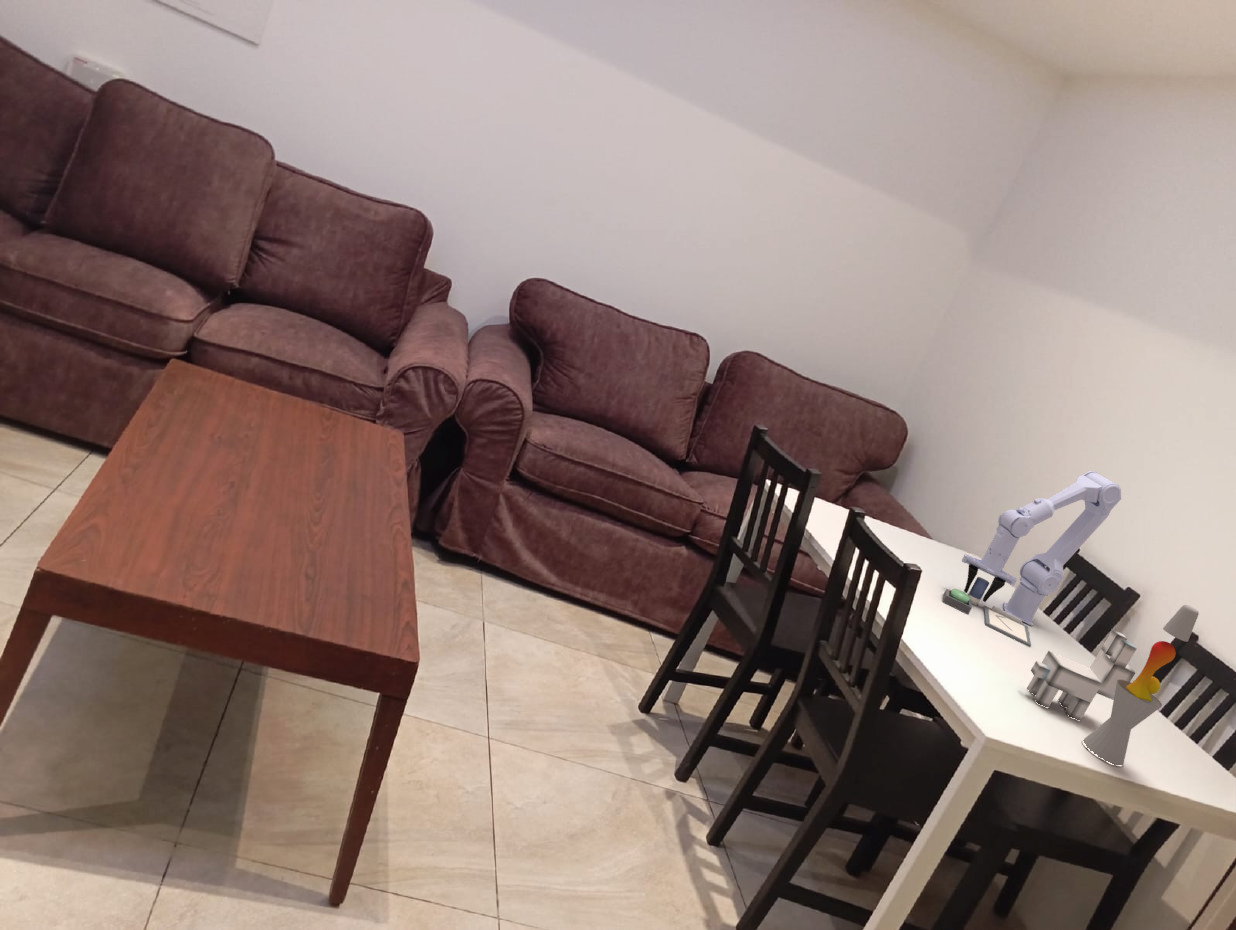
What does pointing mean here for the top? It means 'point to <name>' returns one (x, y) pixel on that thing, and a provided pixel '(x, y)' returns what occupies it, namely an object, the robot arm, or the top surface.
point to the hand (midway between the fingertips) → (974, 596)
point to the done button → (960, 596)
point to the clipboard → (1006, 624)
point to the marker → (978, 590)
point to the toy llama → (1082, 676)
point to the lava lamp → (1138, 694)
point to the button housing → (956, 602)
